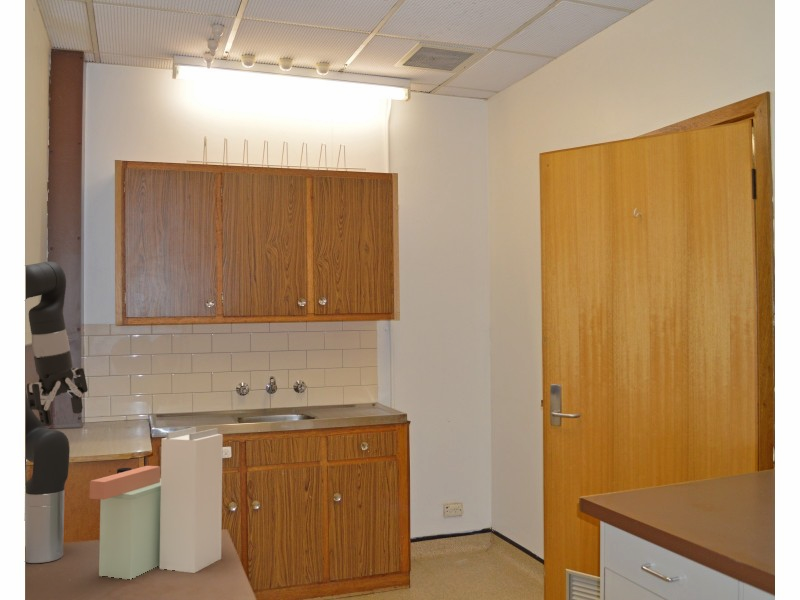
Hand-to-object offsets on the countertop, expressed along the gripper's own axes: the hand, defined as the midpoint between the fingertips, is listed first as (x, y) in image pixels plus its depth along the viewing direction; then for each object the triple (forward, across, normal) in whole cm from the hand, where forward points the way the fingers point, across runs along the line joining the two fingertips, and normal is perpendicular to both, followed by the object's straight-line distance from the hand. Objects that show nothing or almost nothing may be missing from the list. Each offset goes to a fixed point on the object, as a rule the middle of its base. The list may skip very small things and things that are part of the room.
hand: (62, 419), depth 167 cm
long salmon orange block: (+21, -10, +6) cm, 24 cm away
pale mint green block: (+42, -11, +5) cm, 44 cm away
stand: (+43, -18, +16) cm, 49 cm away
